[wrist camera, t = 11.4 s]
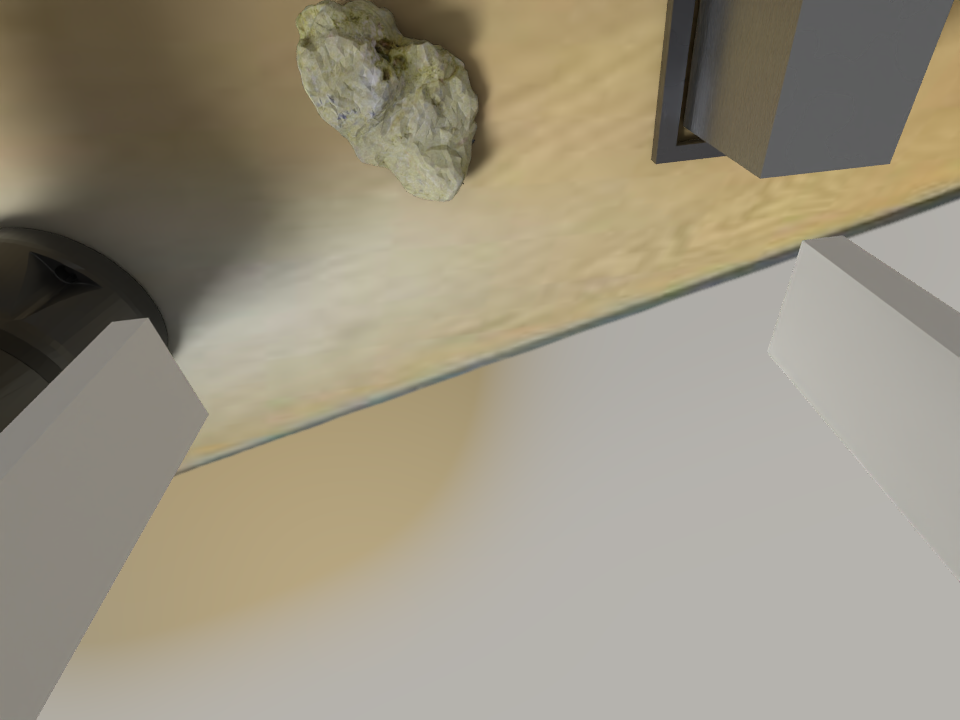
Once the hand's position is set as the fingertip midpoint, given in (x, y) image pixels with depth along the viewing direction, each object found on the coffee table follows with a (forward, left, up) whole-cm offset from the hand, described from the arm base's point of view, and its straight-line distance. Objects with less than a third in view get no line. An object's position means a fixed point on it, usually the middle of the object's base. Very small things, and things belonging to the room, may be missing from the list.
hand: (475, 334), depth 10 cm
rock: (-5, 0, -26) cm, 27 cm away
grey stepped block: (+17, +1, -26) cm, 31 cm away
